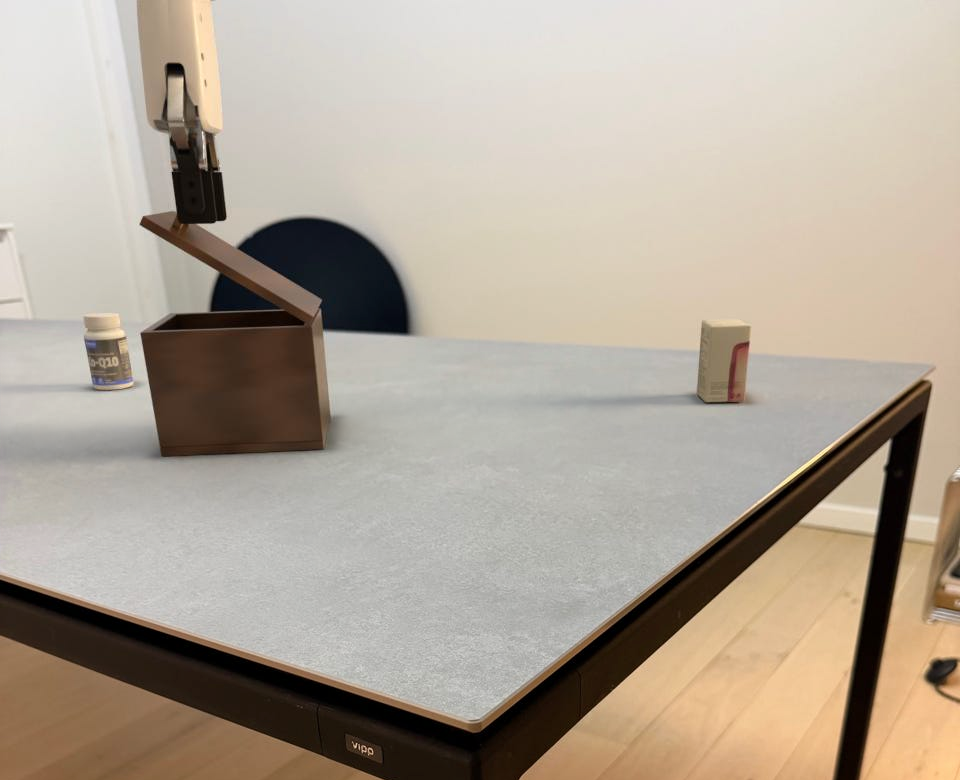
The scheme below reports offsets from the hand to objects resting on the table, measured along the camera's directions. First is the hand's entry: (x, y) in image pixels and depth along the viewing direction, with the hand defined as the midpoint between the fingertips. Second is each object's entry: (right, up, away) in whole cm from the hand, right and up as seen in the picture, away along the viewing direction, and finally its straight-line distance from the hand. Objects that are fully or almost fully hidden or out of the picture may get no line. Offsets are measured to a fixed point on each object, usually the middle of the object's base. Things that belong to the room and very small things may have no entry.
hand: (203, 219), depth 83 cm
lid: (+2, -4, +2) cm, 5 cm away
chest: (+2, -17, +9) cm, 19 cm away
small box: (+50, -11, +19) cm, 55 cm away
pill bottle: (-20, -6, +32) cm, 39 cm away
